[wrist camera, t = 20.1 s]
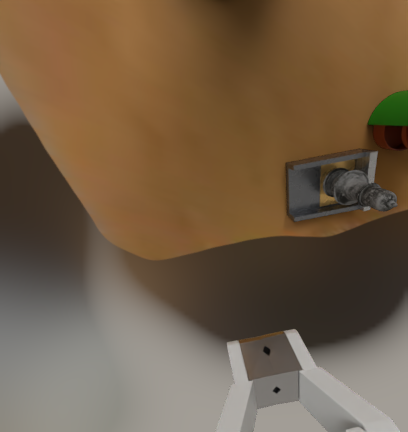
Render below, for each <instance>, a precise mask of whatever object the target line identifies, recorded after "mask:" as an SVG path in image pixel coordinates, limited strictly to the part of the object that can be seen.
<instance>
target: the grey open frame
mask: <svg viewBox="0 0 408 432" xmlns="http://www.w3.org/2000/svg"><path fill="white" fill-rule="evenodd" d="M377 154H378V151H372V150H365V149H355V150H350V151H344V152H339V153H334V154H329V155H324V156H318V157H313V158H308V159H303V160H298V161H292V162H287V163H286V191H287V216H288V217H290V218H291V219H292V220H293V221H294V222H296V221H301V220H306V219H311V218H316V217H321V216H327V215H332V214H337V213H342V212H347V211H352V210H357V209H360V210H362V211H367V210H370V206H368V207H363V206H361V205H360V204H359V203H358V202H356V203H354V204H351V205H342V204H339V203H338V202H337V201H336V200H335V198H334V197H330V196H328V195H326V194H325V192H324V191H323V182H324V179H325V177H326V176H327V175H328V173H329V172H331V171H332V170H334V169H336V168H345V169H348V170H349V171H351V170H360V171H362V172H364V173H365V174H366V175H367V177H368V179H369V183H374V177H375V169H376V162H377Z"/></svg>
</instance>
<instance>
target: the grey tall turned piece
mask: <svg viewBox="0 0 408 432" xmlns="http://www.w3.org/2000/svg"><path fill="white" fill-rule="evenodd" d="M323 191H324V192H325V194H326V195H328V196H330V197H334V198H335V200H336V201H337V202H338V203H339V204H342V205H351V204H354V203H356V202H358V203H359V204H360V205H361V206H363V207H368V206H370V207H372V208H374V209H376V210H379V211H388V210H390V209H392V208H393V207H396V206H397V203H396V202H397V197H396V195H395V194H394V193H393V192H391V191H388V190H385V189H382V188H381V187H380V186H379V185H378V184H376V183H369V179H368V177H367V175H366V174H365V173H364V172H362V171H360V170H351V171H349V170H348V169H345V168H336V169H334V170H332V171H331V172H329V173H328V175H327V176H326V177H325V179H324V182H323Z"/></svg>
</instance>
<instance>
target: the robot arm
mask: <svg viewBox="0 0 408 432" xmlns="http://www.w3.org/2000/svg"><path fill="white" fill-rule="evenodd" d="M227 348H228V353H229V358H230V363H231V369H232V374H233V379H234V384H232V385H231V386H230V389H229V392H228V395H227V398H226V401H225V404H224V407H223V410H222V413H221V416H220V419H219V422H218V425H217V428H216V431H215V432H253V430H254V425H255V420H256V415H257V409H259V408H264V407H268V406H272V405H276V404H282V403H288V402H294V401H299V402H300V403H301V404H302V405H303V406H304V407H305V408H306V409H307V410H308V411H309V412H310V413H311V415H312V416H313V417H314V418H315V419H316V420H317V421H318V422H319V423H320V424H321V425H322V426H323V427H324V428H325V429H326V430H327V431H328V432H400V431H399V429H398V428H397V426H396V425H395V424H394V422H393V421H392V419H391V418H389V417H388V416H387V415H385V414H384V413H383V412H381V411H380V410H379V409H377V408H376V407H374V406H373V405H372V404H370V403H369V402H368V401H366V400H365V399H364V398H362V397H361V396H359V395H358V394H357V393H355V392H354V391H353V390H352V389H350V388H349V387H347V386H346V385H345V384H343V383H342V382H341V381H339V380H338V379H337V378H335V377H334V376H333V375H331V374H330V373H328V372H327V371H326V370H325V369H323V368H322V367H317V366H316V364H315V363H314V361H313V359H312V357H311V355H310V353H309V352H308V350H307V348H306V346H305V344H304V342H303V341H302V339H301V338H300V335H299V333H298V332H297V330H295V329H292V330H287V331H281V332H276V333H271V334H267V335H263V336H259V337H254V338H248V339H242V340H236V341H231V342H227Z"/></svg>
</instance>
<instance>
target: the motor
mask: <svg viewBox="0 0 408 432" xmlns="http://www.w3.org/2000/svg"><path fill="white" fill-rule="evenodd" d="M368 125H374V128H373V137H374V140H375V142H376V144H377V145H378V146H380V147H381V148H385V149H391V150H406V149H408V90H406V91H400V92H397V93H394V94H392V95H390V96H388V97H387V98H386V99H384V100H383V101H382V102H381V103H380V104H379V105H378V106H377V107H376V109H375V110H374V111H373V113H372V115H371V117H370V119H369V121H368ZM395 126H396V127H395Z"/></svg>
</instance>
